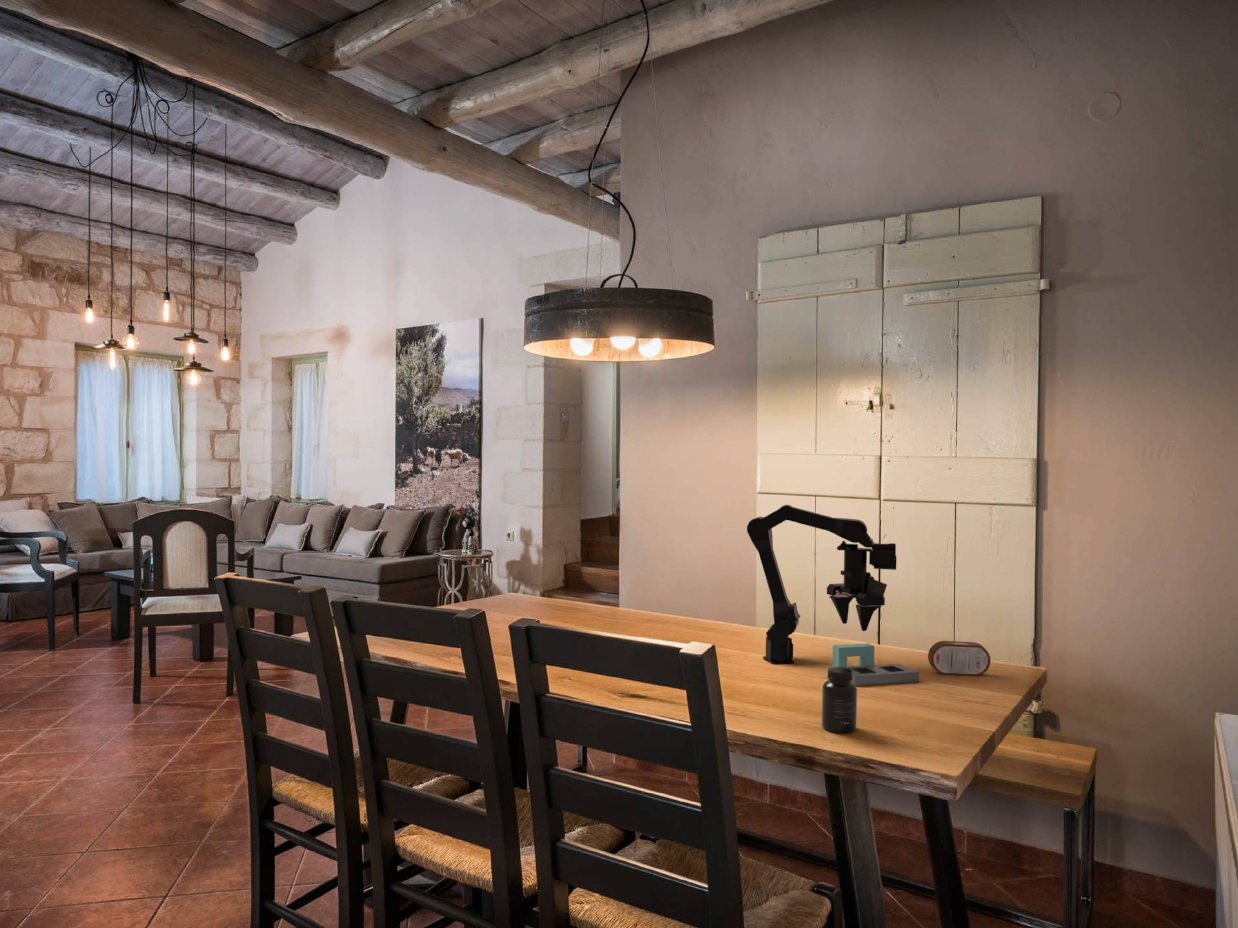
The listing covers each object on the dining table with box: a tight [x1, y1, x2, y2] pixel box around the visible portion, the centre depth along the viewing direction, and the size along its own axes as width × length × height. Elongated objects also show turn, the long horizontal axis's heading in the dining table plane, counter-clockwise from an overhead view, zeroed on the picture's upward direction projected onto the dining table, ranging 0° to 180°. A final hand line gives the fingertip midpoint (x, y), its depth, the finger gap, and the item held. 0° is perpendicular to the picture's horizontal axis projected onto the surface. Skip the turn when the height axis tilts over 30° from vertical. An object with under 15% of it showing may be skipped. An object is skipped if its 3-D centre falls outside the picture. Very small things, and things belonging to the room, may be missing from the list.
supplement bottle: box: [821, 666, 858, 735], centre depth 162 cm, size 7×7×12 cm
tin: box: [927, 640, 991, 677], centre depth 205 cm, size 15×3×8 cm, turn 84°
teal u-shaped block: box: [831, 642, 875, 667], centre depth 209 cm, size 10×3×6 cm, turn 106°
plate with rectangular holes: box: [842, 663, 920, 687], centre depth 199 cm, size 18×8×2 cm, turn 106°
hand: (854, 627), depth 209 cm, fingers open, 9 cm apart
